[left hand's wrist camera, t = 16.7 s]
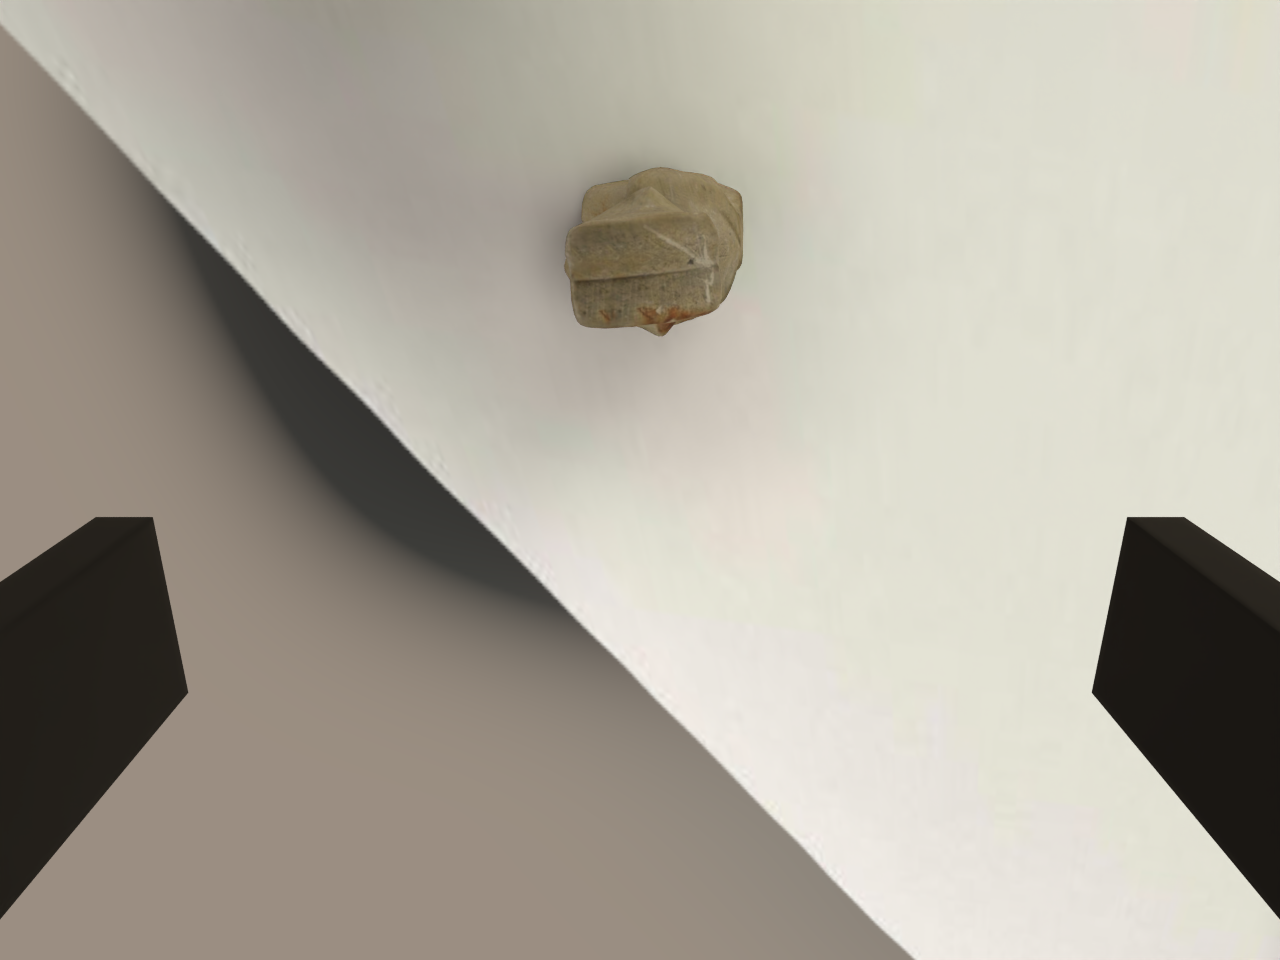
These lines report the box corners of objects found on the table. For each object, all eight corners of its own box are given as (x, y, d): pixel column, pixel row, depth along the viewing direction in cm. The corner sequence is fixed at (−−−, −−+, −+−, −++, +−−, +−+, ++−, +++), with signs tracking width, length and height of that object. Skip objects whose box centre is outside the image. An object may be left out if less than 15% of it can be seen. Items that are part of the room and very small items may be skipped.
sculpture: (580, 164, 41) (550, 172, 27) (738, 162, 41) (788, 169, 27) (585, 292, 43) (559, 362, 29) (735, 290, 43) (780, 359, 29)
